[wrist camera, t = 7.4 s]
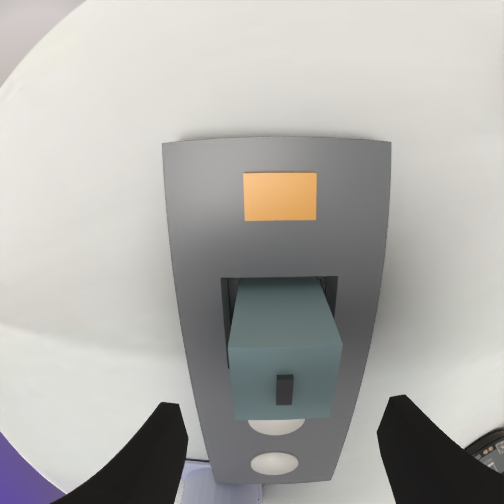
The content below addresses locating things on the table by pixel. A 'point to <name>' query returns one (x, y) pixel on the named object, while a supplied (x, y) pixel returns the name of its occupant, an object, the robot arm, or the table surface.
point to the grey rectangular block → (283, 350)
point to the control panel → (275, 265)
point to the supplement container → (490, 451)
